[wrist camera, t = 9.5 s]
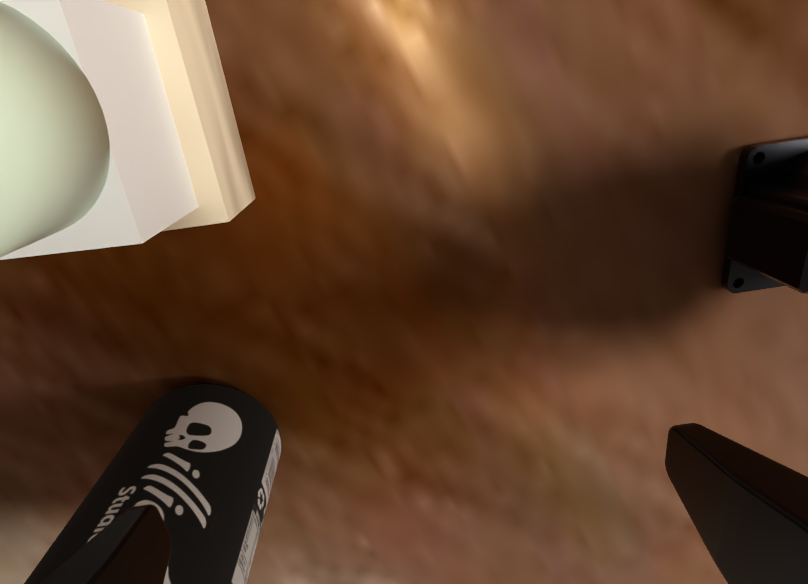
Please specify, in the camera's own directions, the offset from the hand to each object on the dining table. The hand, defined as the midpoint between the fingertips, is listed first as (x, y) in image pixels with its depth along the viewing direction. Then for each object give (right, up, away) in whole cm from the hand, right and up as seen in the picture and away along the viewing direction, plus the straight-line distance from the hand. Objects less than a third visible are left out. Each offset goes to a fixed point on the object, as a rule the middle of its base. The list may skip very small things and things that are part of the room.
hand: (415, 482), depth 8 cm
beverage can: (-9, -3, +15) cm, 18 cm away
